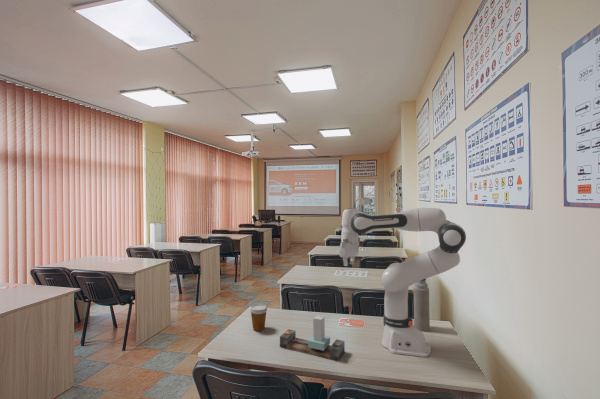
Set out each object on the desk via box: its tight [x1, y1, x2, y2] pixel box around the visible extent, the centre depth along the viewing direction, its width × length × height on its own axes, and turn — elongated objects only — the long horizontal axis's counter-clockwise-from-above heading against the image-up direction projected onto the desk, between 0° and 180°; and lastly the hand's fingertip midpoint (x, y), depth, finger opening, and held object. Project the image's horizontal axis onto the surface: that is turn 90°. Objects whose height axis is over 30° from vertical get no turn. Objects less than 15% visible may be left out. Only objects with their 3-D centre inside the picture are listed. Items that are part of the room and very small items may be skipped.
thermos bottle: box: [412, 278, 431, 332], centre depth 160 cm, size 8×8×28 cm
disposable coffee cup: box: [249, 304, 268, 332], centre depth 162 cm, size 10×10×12 cm
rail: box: [279, 328, 346, 362], centre depth 138 cm, size 30×9×6 cm, turn 64°
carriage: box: [307, 315, 331, 351], centre depth 137 cm, size 8×8×13 cm
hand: (348, 265), depth 152 cm, fingers open, 8 cm apart
